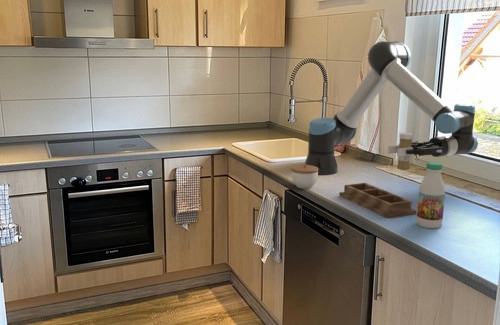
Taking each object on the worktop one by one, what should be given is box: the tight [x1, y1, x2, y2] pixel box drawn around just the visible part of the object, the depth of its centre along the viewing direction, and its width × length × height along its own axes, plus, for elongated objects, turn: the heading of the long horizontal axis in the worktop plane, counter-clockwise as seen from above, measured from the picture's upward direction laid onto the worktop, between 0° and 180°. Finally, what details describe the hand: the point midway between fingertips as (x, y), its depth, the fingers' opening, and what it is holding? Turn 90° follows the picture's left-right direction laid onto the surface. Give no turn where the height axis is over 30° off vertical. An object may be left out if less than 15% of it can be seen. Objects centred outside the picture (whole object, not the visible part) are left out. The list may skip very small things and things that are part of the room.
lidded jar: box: [290, 163, 319, 190], centre depth 198 cm, size 11×11×9 cm
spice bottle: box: [397, 132, 414, 171], centre depth 183 cm, size 5×5×14 cm
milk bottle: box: [415, 161, 446, 229], centre depth 154 cm, size 8×8×20 cm
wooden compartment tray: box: [338, 182, 417, 219], centre depth 177 cm, size 28×12×4 cm, turn 24°
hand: (393, 151), depth 180 cm, fingers closed on spice bottle, 4 cm apart
